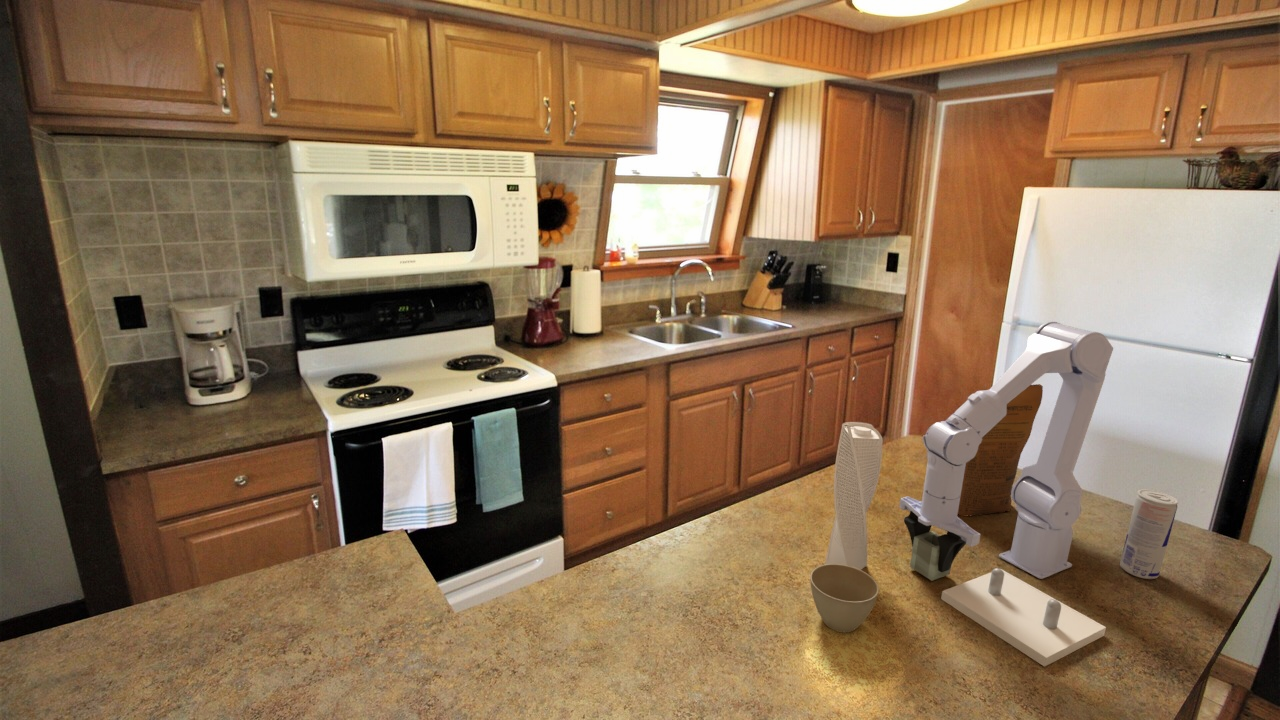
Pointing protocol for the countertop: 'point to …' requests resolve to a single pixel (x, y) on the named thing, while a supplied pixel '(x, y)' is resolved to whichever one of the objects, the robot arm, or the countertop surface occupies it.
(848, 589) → the flower pot
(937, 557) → the square socket block
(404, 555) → the countertop surface
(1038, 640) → the jig board
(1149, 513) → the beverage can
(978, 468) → the pancake mix bag
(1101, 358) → the robot arm
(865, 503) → the skyscraper
